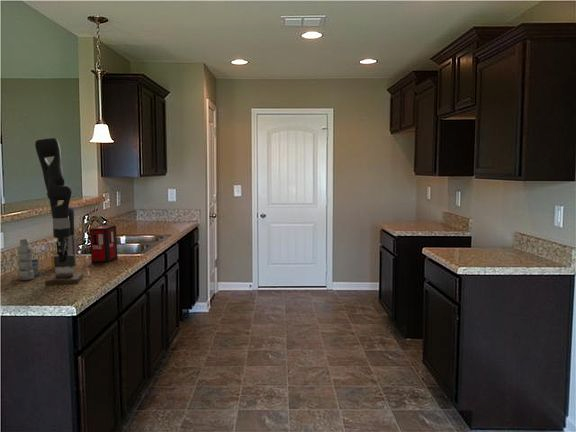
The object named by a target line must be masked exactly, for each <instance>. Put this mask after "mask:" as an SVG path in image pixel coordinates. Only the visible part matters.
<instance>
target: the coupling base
mask: <svg viewBox="0 0 576 432" xmlns="http://www.w3.org/2000/svg"><path fill="white" fill-rule="evenodd" d="M73 274H74V275H73V276H71V277H66V278H56V276H55V274H52V275H50V277H48V279H46V280H45V286H56V285H57V286H59V285H72V284H75V283H76V284H79V282H80V281H81V280H82V279H83V277H84V273H83V272H81V273H78V272H77V273H73ZM81 278H82V279H81Z"/></svg>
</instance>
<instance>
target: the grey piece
mask: <svg viewBox="0 0 576 432" xmlns="http://www.w3.org/2000/svg"><path fill="white" fill-rule="evenodd" d="M50 259H51V260H50V261H51V267H52V268H54V275H55V276H56V278H66V277H71V276H73V275H74V274H75V273H74V267H75V266H76V265H77V260H76V261H75V255H64V260H65V262H64V263H60V262H59V255H58V254H57V255H56V254H54V255H52V256H51V257H50Z"/></svg>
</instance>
